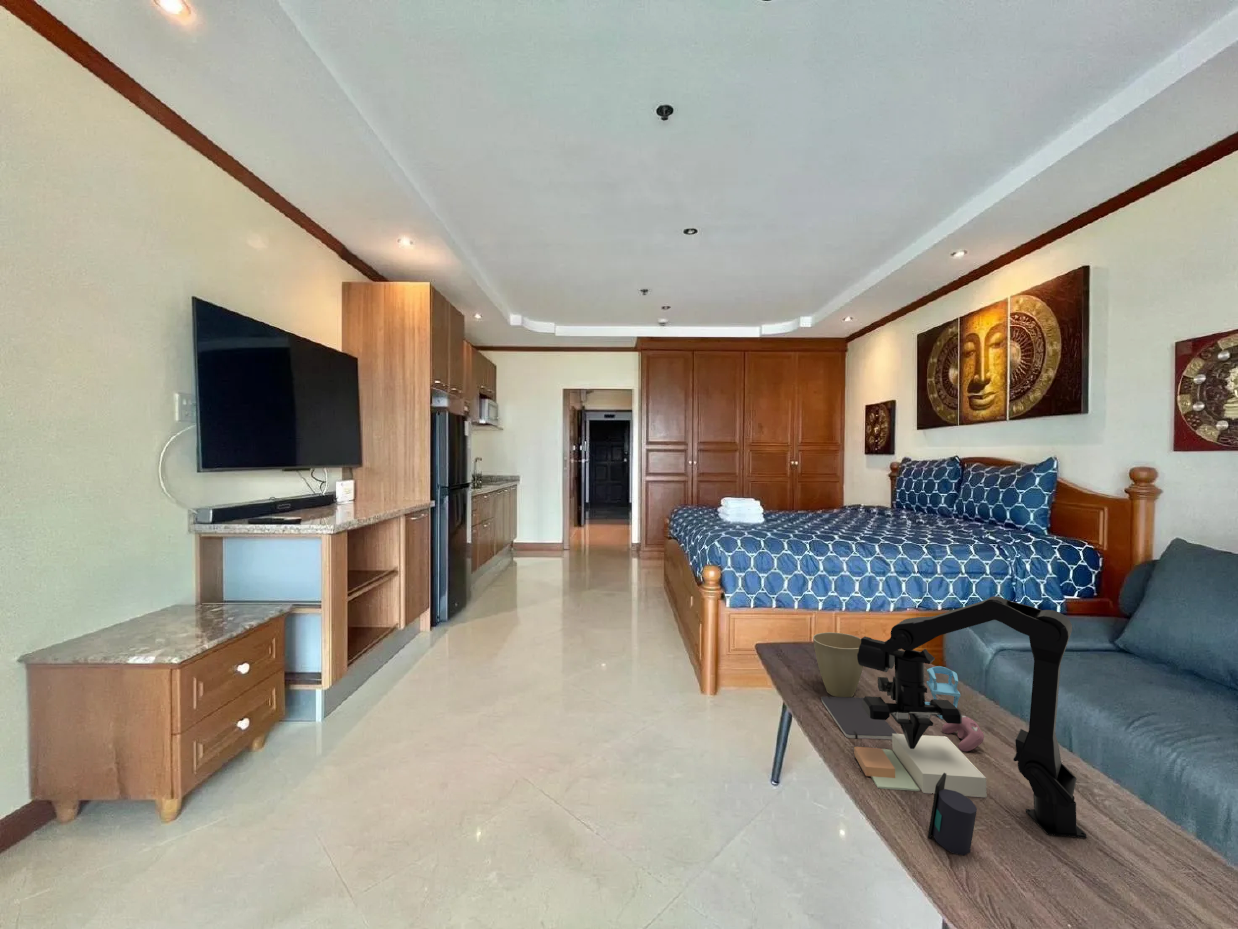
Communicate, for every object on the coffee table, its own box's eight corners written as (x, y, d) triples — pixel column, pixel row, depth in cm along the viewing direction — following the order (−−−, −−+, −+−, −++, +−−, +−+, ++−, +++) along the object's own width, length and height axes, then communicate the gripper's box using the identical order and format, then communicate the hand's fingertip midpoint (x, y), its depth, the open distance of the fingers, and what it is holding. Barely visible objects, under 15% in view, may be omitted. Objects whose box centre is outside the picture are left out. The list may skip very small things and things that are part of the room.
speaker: (915, 830, 92) (921, 777, 92) (936, 823, 95) (942, 771, 94) (957, 864, 85) (963, 806, 85) (978, 855, 88) (985, 799, 87)
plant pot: (875, 706, 142) (874, 649, 142) (820, 702, 144) (819, 647, 144) (858, 683, 156) (857, 632, 157) (809, 681, 159) (808, 631, 159)
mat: (919, 791, 104) (919, 789, 104) (877, 788, 105) (877, 786, 105) (891, 751, 119) (891, 749, 119) (854, 749, 120) (854, 747, 120)
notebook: (899, 742, 124) (865, 702, 145) (899, 735, 124) (865, 697, 145) (846, 740, 125) (820, 701, 146) (846, 734, 125) (820, 696, 146)
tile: (865, 766, 109) (865, 775, 109) (895, 768, 108) (895, 778, 108) (854, 746, 117) (854, 755, 117) (881, 748, 116) (881, 757, 116)
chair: (931, 718, 134) (930, 674, 134) (923, 704, 142) (922, 662, 142) (965, 722, 132) (964, 677, 132) (955, 708, 140) (954, 665, 140)
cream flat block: (986, 797, 102) (986, 777, 102) (923, 793, 103) (922, 773, 103) (946, 753, 117) (946, 736, 118) (892, 750, 119) (892, 733, 119)
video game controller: (977, 760, 117) (991, 734, 117) (958, 750, 118) (972, 724, 118) (956, 738, 127) (969, 714, 127) (939, 729, 128) (951, 705, 127)
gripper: (936, 665, 118) (938, 731, 118) (853, 662, 121) (855, 727, 121) (962, 685, 107) (964, 758, 107) (870, 681, 110) (871, 753, 110)
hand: (911, 747), depth 111 cm, fingers closed
